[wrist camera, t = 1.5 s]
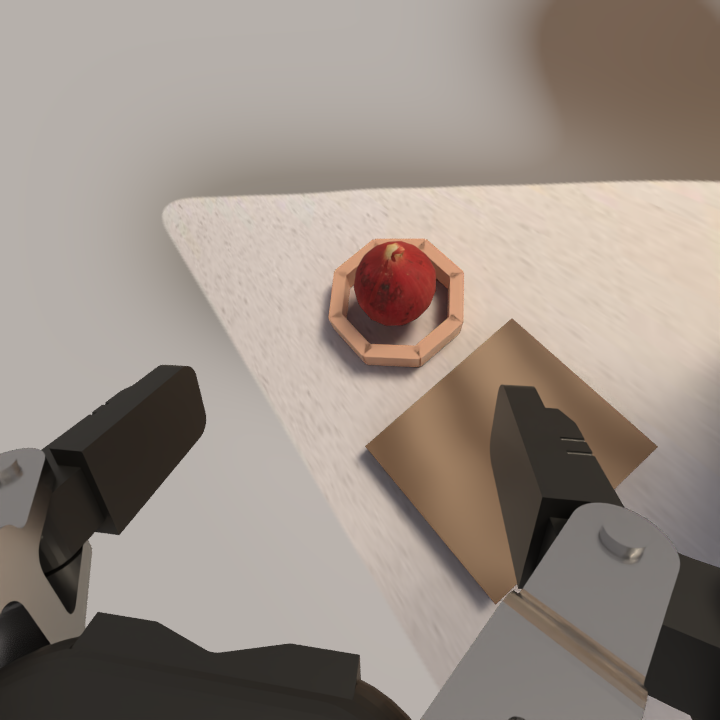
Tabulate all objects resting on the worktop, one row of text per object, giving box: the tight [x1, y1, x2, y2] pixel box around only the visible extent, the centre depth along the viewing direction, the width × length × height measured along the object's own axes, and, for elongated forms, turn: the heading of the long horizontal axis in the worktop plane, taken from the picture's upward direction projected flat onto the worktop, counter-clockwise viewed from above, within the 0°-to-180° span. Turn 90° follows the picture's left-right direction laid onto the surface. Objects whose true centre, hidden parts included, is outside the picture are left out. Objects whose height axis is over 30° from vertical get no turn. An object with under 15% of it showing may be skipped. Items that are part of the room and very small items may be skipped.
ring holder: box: [328, 239, 464, 367], centre depth 30 cm, size 10×10×2 cm
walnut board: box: [365, 319, 658, 604], centre depth 26 cm, size 14×12×2 cm
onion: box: [354, 241, 436, 326], centre depth 27 cm, size 6×6×8 cm
